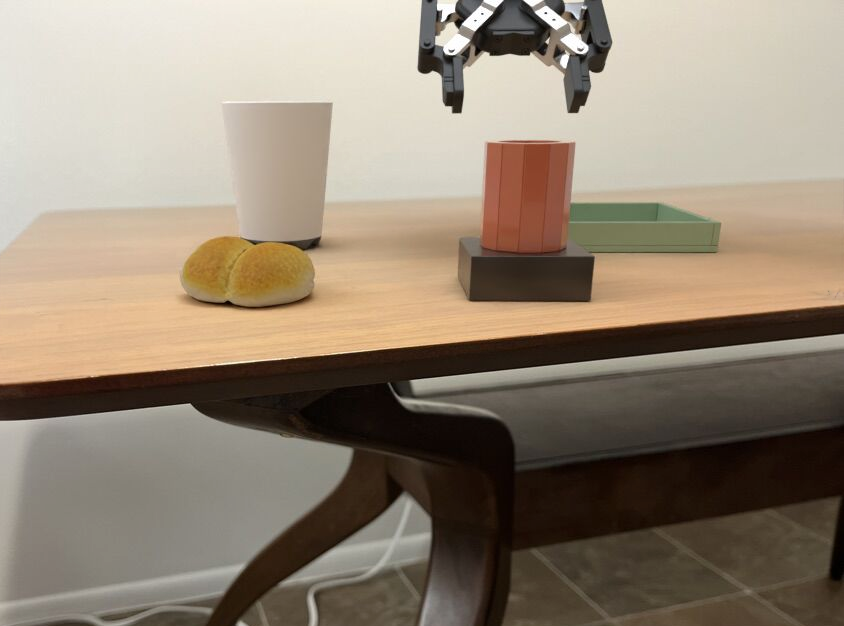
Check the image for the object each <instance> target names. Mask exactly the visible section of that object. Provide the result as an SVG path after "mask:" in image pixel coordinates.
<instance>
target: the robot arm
mask: <svg viewBox="0 0 844 626" xmlns="http://www.w3.org/2000/svg"><path fill="white" fill-rule="evenodd" d="M451 23H454V24H453V25H454V26H455V28H456V29H457V30H458V31H457V33H456V34H455V35H454V36H453V37H452V38H451V39H450V40H449V41H448V42H447V43H445V45H444V46H442V45H439V44H436V37H439V36H441V34H442V33H441V32H444V31H445V29H446V28H447V25H448V24H451ZM571 26H572V28H573V29H574V32H573V31H572V30H571ZM578 35H580V38H579V37H578ZM418 36H419V37H418V53H417V67H416V68H417V72H418V73H420V74H422V75H428V74H430V73H432V72H435V73H437V74H439V75H440V78H441V96H442V97H441V98H442V99H441V100H442V104H443V105H444V106H445V107H451V114H453V115H454V114H462V113H463V105H464V99H465V81H464V70H465V69H466V68H471V67H472V66H473V65H474V64H475V62H476V61H477V60H479V59H480V58H481V57H482V56H483V54H485V53H487V54H488V55H489V57H501V56H506V55H512V56H519V57H530V56H531V55H533V56H534V57H535V58H536V59H538V60H539V61H540V62H541V63H542V64H544V65H545V66H546V67H551V66H554V67H555V68H556V69H557V70H558V71H559V72H561V74H563V75H564V76H563V88H564V95H565V104H566V105H565V106H566V112H567V114H579V112H580V109H581V107H585V106H586V103H587V101H588V98H589V95H590V92H591V88H592V81H591V77H590V76H591V75H590V72H591V73H594V74H599V73H603V71H604V69H605V67H606V64H607V63H606V62H607V59H608V55H609V53H610V51H611V48H612V45H613V38H612V35H611V31H610V27H609V23H608V19H607V15H606V10H605V7H604V4H603V0H583V1H577V2H575V1H574V2H565V1H564V0H457V1H456V2H455V3H438V0H421V8H420V21H419V35H418ZM547 41H548V43H547Z"/></svg>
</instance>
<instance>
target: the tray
mask: <svg viewBox="0 0 844 626" xmlns="http://www.w3.org/2000/svg"><path fill="white" fill-rule="evenodd" d="M721 228H722V222H721V221H718V220H715V219H713V218H710V217H706V216H704V215H701V214H698V213H695V212H692V211H690V210H686V209H683V208H681V207H677V206H675V205H671V204H668V203H665V202H662V201H658V202H657V201H656V202H653V201H652V202H650V201H649V202H648V201H645V202H641V201H640V202H639V201H637V202H636V201H635V202H634V201H633V202H632V201H631V202H629V201H627V202H623V201H622V202H619V201H617V202H616V201H615V202H613V201H612V202H609V201H608V202H607V201H606V202H602V201H601V202H597V201H596V202H595V201H594V202H591V201H590V202H583V201H582V202H581V201H580V202H578V201H577V202H572V201H571V203H570V214H569V226H568V238H569V239H570V240H572V241H573V242H574V243H576V244H577V245H579V246H580V247H582V248H583V249H585V250H586V251H587V252H589V253H718V248H719V241H720V234H721V230H722V229H721Z"/></svg>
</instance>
